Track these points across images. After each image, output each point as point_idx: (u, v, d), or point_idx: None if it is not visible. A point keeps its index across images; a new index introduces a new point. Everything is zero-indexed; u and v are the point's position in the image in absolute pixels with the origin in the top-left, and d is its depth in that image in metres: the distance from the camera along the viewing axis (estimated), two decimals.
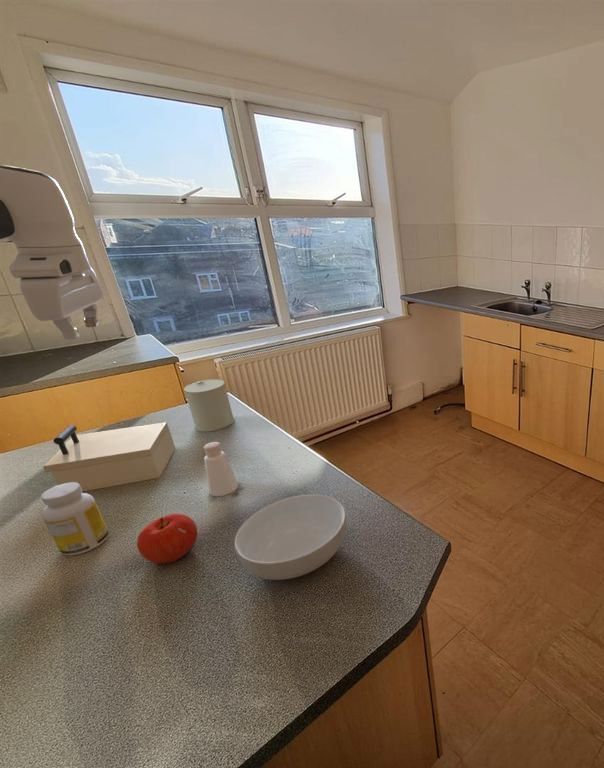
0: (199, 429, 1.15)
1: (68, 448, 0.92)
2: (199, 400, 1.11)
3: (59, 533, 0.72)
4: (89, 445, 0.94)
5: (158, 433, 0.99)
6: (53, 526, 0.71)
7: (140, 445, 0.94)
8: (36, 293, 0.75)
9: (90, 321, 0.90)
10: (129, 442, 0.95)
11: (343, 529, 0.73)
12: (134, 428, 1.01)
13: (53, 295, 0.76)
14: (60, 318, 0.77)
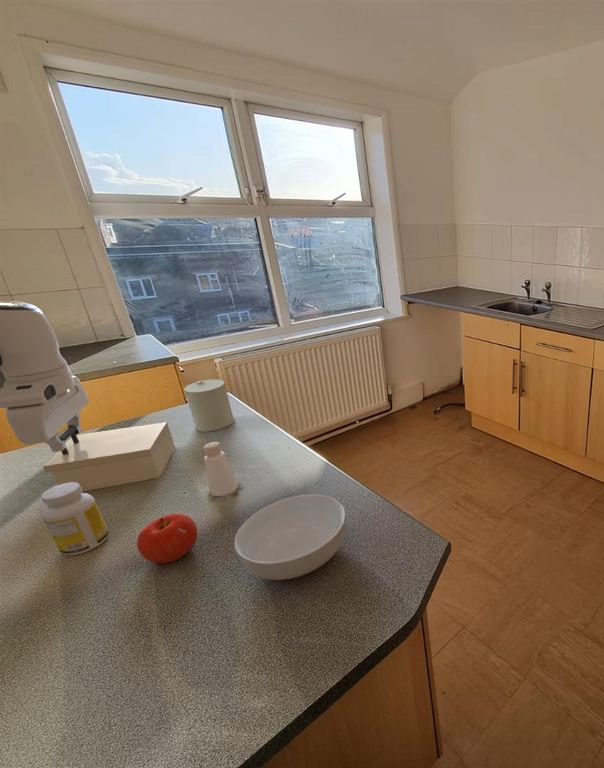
0: (199, 429, 1.15)
1: (68, 448, 0.92)
2: (199, 400, 1.11)
3: (59, 533, 0.72)
4: (89, 445, 0.94)
5: (158, 433, 0.99)
6: (53, 526, 0.71)
7: (140, 445, 0.94)
8: (22, 421, 0.80)
9: None
10: (129, 442, 0.95)
11: (343, 529, 0.73)
12: (134, 428, 1.01)
13: (37, 422, 0.81)
14: (45, 441, 0.82)
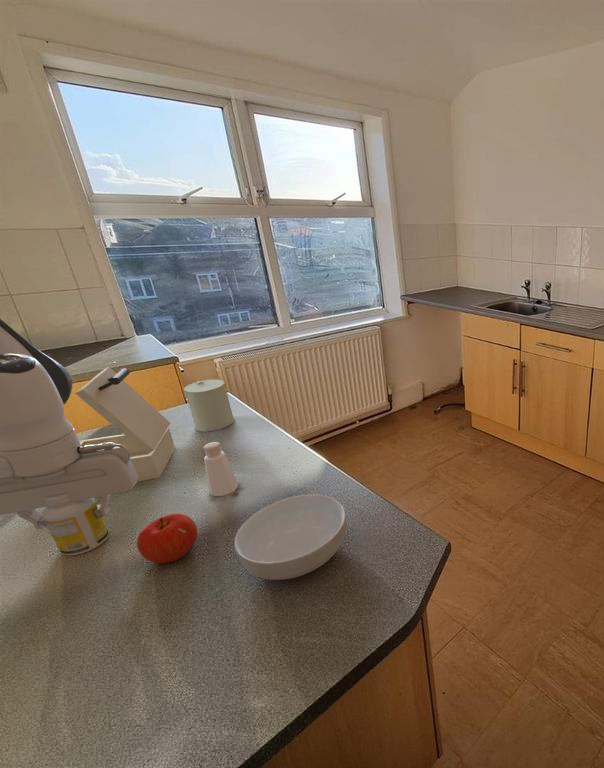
0: (199, 429, 1.15)
1: (102, 382, 0.91)
2: (199, 400, 1.11)
3: (59, 533, 0.72)
4: (117, 395, 0.92)
5: (163, 433, 0.99)
6: (53, 526, 0.71)
7: (148, 437, 0.94)
8: None
9: None
10: (143, 424, 0.95)
11: (343, 529, 0.73)
12: (148, 406, 1.00)
13: None
14: None
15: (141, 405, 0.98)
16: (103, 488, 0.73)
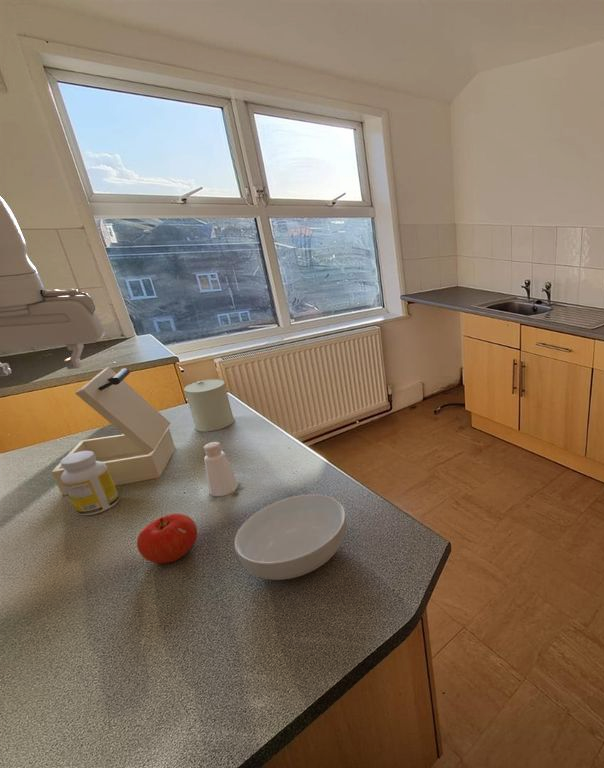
0: (199, 429, 1.15)
1: (102, 382, 0.91)
2: (199, 400, 1.11)
3: (75, 495, 0.81)
4: (117, 395, 0.92)
5: (163, 433, 0.99)
6: (71, 488, 0.81)
7: (148, 437, 0.94)
8: None
9: None
10: (143, 424, 0.95)
11: (343, 529, 0.73)
12: (148, 406, 1.00)
13: None
14: None
15: (141, 405, 0.98)
16: (68, 335, 0.73)
